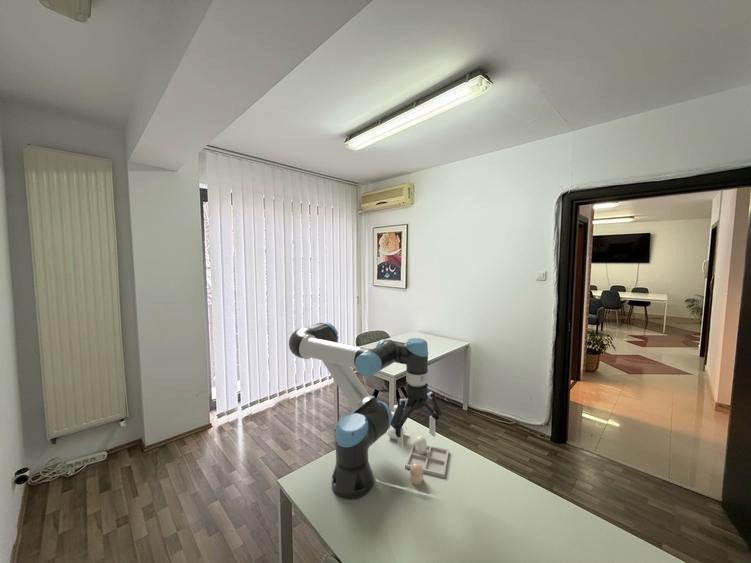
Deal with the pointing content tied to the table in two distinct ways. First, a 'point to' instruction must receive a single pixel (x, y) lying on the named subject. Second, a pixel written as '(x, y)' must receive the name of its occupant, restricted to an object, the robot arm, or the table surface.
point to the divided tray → (429, 460)
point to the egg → (416, 474)
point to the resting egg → (420, 445)
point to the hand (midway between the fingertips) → (416, 439)
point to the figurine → (392, 431)
